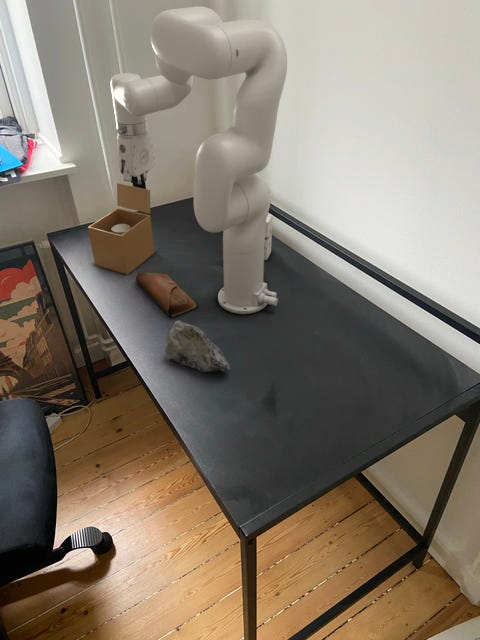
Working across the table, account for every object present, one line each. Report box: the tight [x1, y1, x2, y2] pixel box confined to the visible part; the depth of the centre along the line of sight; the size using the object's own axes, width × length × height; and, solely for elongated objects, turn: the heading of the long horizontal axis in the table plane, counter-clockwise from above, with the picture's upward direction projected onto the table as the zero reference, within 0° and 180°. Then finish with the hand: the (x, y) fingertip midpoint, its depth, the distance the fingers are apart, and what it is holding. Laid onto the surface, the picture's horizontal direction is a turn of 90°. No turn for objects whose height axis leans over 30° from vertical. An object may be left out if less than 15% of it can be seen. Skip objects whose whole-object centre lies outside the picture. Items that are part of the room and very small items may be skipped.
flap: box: [116, 182, 151, 214], centre depth 139 cm, size 6×11×1 cm
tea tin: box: [111, 224, 131, 235], centre depth 140 cm, size 5×5×9 cm
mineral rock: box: [165, 320, 232, 373], centre depth 105 cm, size 13×11×10 cm
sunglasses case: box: [135, 271, 198, 318], centre depth 128 cm, size 18×7×7 cm
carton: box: [87, 207, 156, 275], centre depth 140 cm, size 13×11×11 cm
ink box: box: [264, 213, 274, 261], centre depth 142 cm, size 9×5×12 cm, turn 73°
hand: (140, 195), depth 142 cm, fingers closed
